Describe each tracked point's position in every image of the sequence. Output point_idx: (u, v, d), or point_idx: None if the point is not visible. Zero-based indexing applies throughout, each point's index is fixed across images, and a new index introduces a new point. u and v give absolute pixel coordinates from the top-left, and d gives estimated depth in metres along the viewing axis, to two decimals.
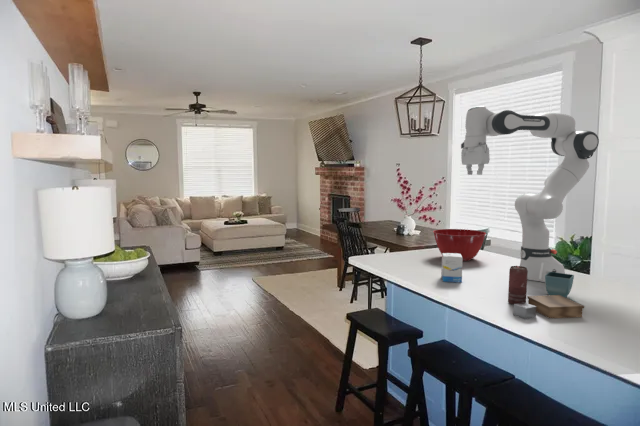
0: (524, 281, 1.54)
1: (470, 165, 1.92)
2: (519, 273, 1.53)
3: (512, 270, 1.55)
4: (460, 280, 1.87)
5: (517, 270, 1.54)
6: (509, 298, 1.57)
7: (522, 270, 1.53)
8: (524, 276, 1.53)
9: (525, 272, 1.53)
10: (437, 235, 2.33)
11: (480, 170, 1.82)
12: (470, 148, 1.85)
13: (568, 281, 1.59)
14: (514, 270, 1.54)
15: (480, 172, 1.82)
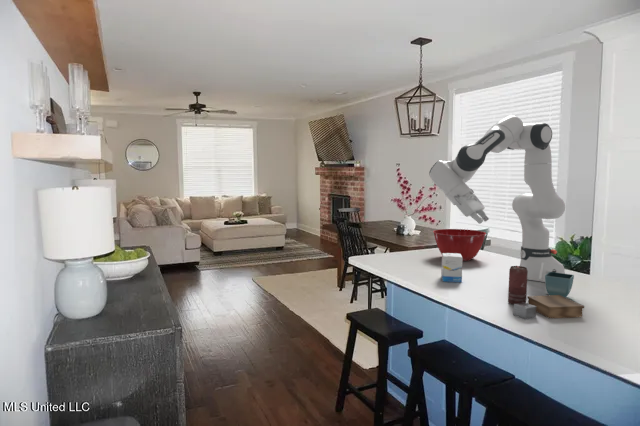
0: (524, 281, 1.54)
1: (480, 211, 1.67)
2: (519, 273, 1.53)
3: (512, 270, 1.55)
4: (460, 280, 1.87)
5: (517, 270, 1.54)
6: (509, 298, 1.57)
7: (522, 270, 1.53)
8: (524, 276, 1.53)
9: (525, 272, 1.53)
10: (437, 235, 2.33)
11: (477, 219, 1.58)
12: None
13: (568, 281, 1.59)
14: (514, 270, 1.54)
15: (479, 220, 1.58)
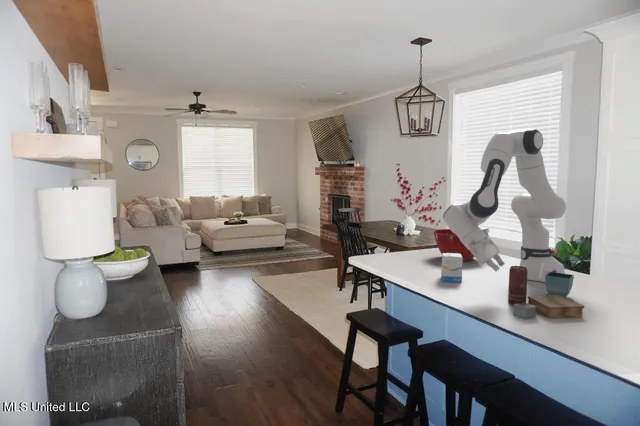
0: (524, 281, 1.54)
1: (496, 256, 1.65)
2: (519, 273, 1.53)
3: (512, 270, 1.55)
4: (460, 280, 1.87)
5: (517, 270, 1.54)
6: (509, 298, 1.57)
7: (522, 270, 1.53)
8: (524, 276, 1.53)
9: (525, 272, 1.53)
10: (437, 235, 2.33)
11: (493, 266, 1.56)
12: None
13: (568, 281, 1.59)
14: (514, 270, 1.54)
15: (495, 268, 1.55)
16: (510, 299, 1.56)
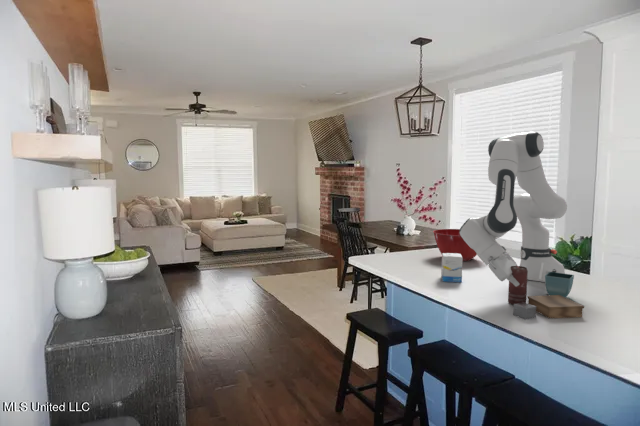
0: (524, 281, 1.54)
1: None
2: (519, 273, 1.53)
3: (512, 270, 1.55)
4: (460, 280, 1.87)
5: (517, 270, 1.54)
6: (509, 298, 1.57)
7: (522, 270, 1.53)
8: (524, 276, 1.53)
9: (525, 272, 1.53)
10: (437, 235, 2.33)
11: (514, 281, 1.54)
12: None
13: (568, 281, 1.59)
14: (514, 270, 1.54)
15: (516, 283, 1.54)
16: (510, 299, 1.56)
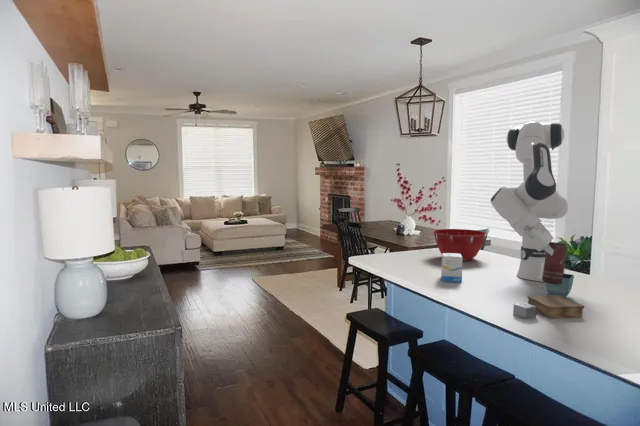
0: (563, 258, 1.44)
1: None
2: (559, 249, 1.43)
3: (551, 245, 1.45)
4: (460, 280, 1.87)
5: (557, 245, 1.44)
6: (545, 276, 1.47)
7: (562, 246, 1.43)
8: (564, 252, 1.44)
9: (565, 248, 1.44)
10: (437, 235, 2.33)
11: (551, 252, 1.44)
12: (525, 235, 1.50)
13: (568, 281, 1.59)
14: (553, 245, 1.44)
15: None
16: (546, 277, 1.46)
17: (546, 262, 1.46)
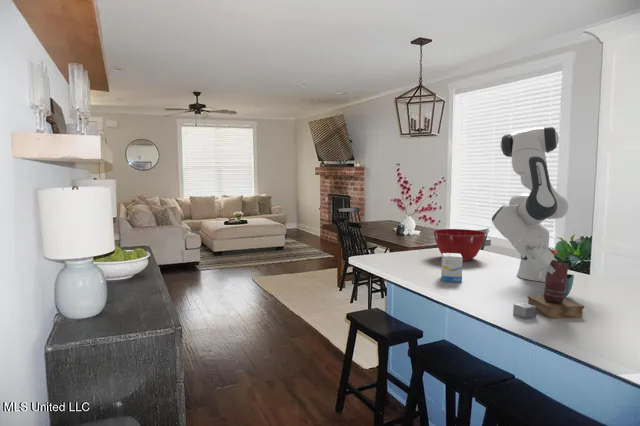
0: (565, 276, 1.44)
1: None
2: (560, 267, 1.44)
3: (552, 264, 1.45)
4: (460, 280, 1.87)
5: (558, 264, 1.44)
6: (546, 294, 1.47)
7: (564, 264, 1.44)
8: (565, 271, 1.44)
9: (566, 267, 1.44)
10: (437, 235, 2.33)
11: None
12: None
13: (568, 281, 1.59)
14: (555, 264, 1.44)
15: None
16: (547, 295, 1.46)
17: (547, 280, 1.47)
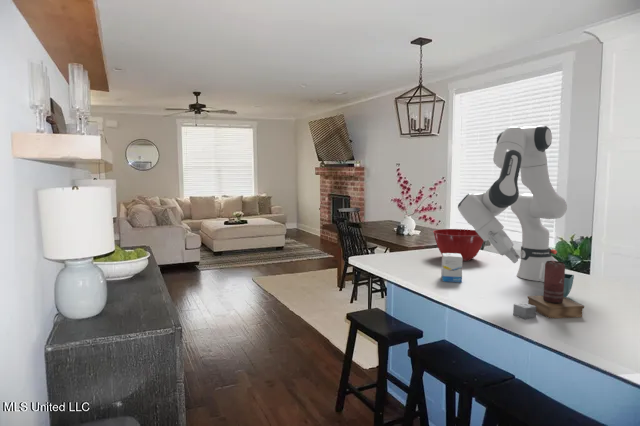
0: (562, 277, 1.44)
1: (511, 249, 1.60)
2: (557, 268, 1.43)
3: (549, 265, 1.45)
4: (460, 280, 1.87)
5: (555, 265, 1.44)
6: (545, 295, 1.47)
7: (560, 265, 1.43)
8: (562, 271, 1.44)
9: (563, 267, 1.44)
10: (437, 235, 2.33)
11: (512, 258, 1.50)
12: (488, 240, 1.58)
13: (568, 281, 1.59)
14: (552, 265, 1.44)
15: (514, 260, 1.50)
16: (547, 296, 1.46)
17: (546, 282, 1.46)
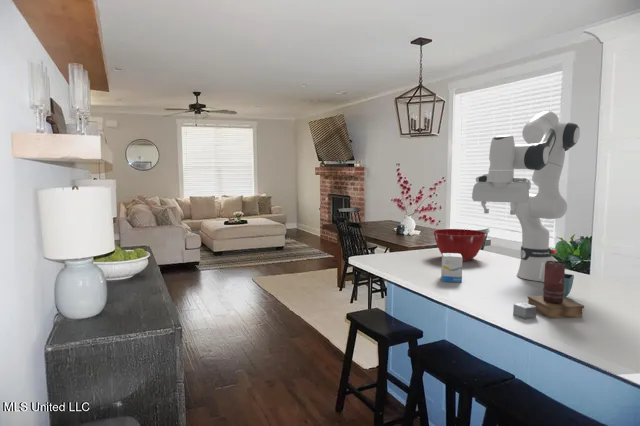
0: (562, 277, 1.44)
1: (485, 202, 1.64)
2: (557, 268, 1.43)
3: (549, 265, 1.45)
4: (460, 280, 1.87)
5: (555, 265, 1.44)
6: (545, 295, 1.47)
7: (560, 265, 1.43)
8: (562, 271, 1.44)
9: (563, 267, 1.44)
10: (437, 235, 2.33)
11: (515, 209, 1.58)
12: (502, 184, 1.57)
13: (568, 281, 1.59)
14: (551, 265, 1.44)
15: (514, 212, 1.58)
16: (547, 296, 1.46)
17: (546, 282, 1.46)
